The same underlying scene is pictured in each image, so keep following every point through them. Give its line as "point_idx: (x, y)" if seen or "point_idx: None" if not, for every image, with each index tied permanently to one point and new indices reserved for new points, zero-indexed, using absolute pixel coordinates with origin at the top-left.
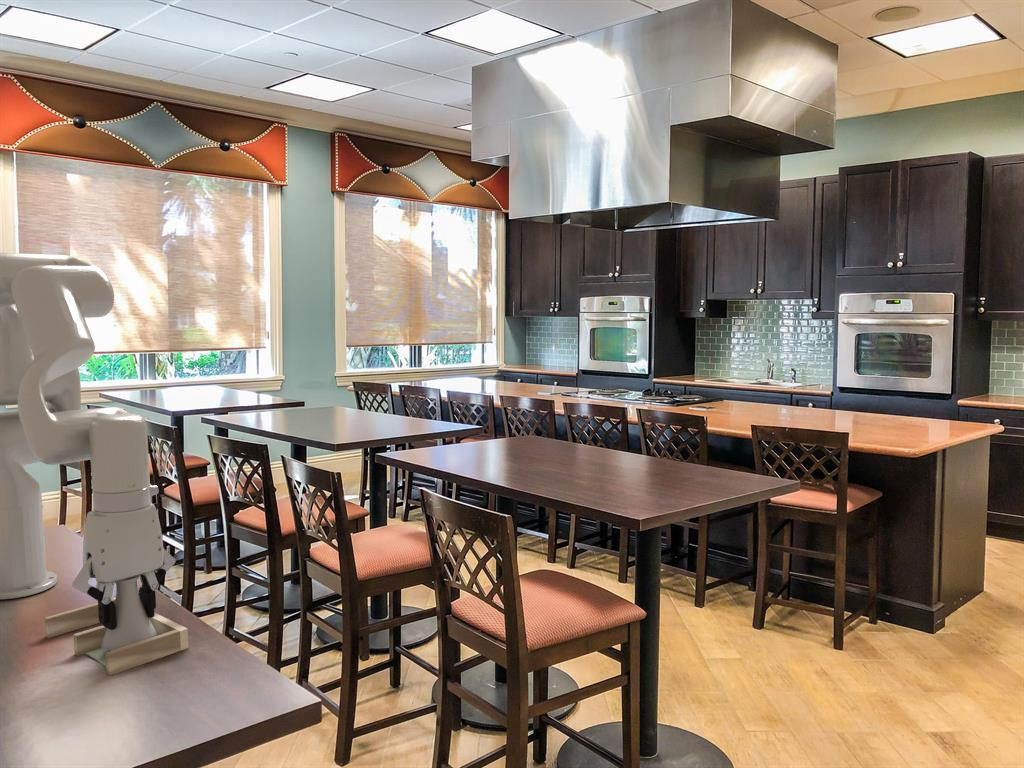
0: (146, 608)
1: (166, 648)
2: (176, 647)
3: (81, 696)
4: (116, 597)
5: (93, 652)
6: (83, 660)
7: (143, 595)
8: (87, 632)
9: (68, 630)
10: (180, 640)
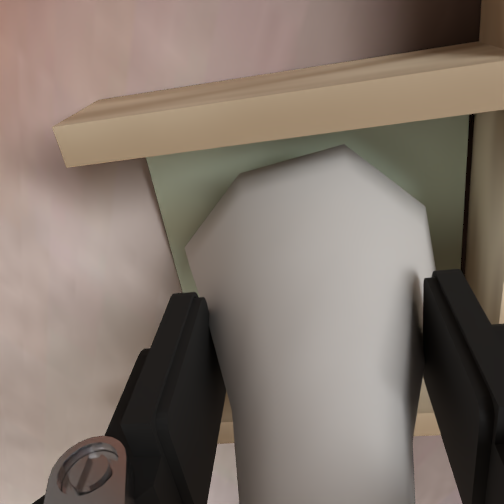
0: (436, 385)
1: None
2: None
3: (88, 437)
4: (238, 470)
5: (172, 163)
6: (125, 199)
7: (462, 434)
8: (127, 155)
9: None
10: None
